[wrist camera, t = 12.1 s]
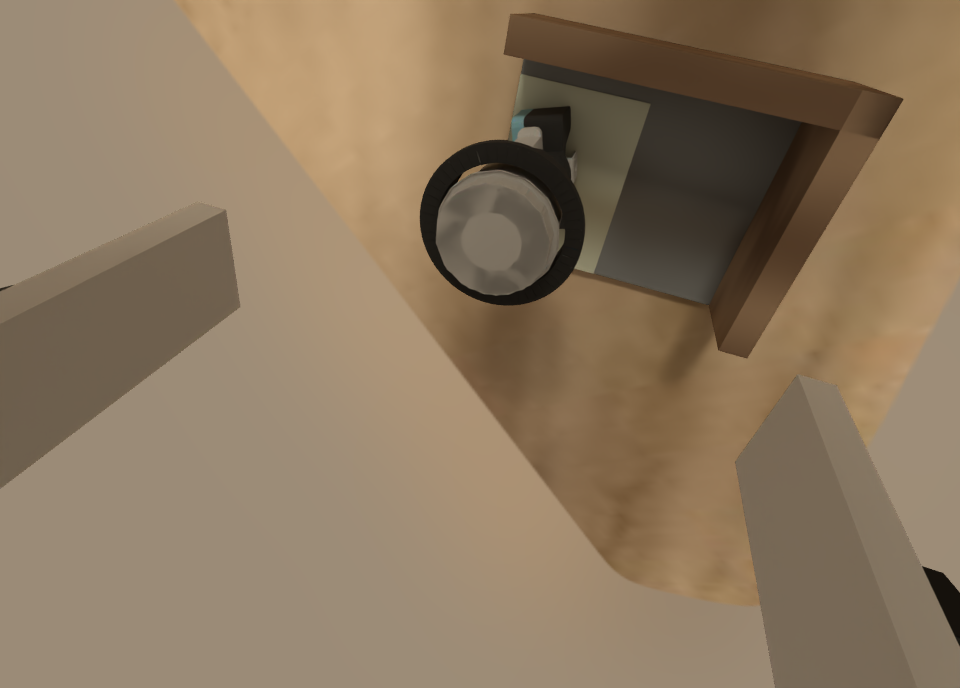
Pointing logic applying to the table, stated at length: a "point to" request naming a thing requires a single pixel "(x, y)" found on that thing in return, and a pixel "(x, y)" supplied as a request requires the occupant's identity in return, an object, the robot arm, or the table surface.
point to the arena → (698, 162)
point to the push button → (507, 212)
